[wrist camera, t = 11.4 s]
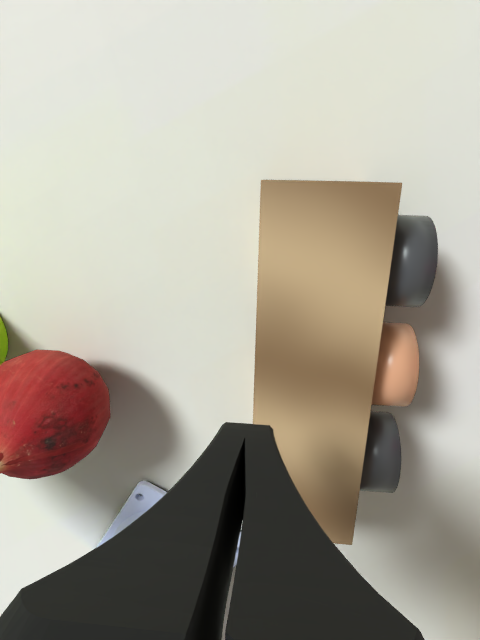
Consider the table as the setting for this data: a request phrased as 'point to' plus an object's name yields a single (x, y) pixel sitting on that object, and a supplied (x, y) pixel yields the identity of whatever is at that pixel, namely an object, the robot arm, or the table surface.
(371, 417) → the knob
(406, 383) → the knob middle
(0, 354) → the soap dispenser
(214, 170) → the table surface
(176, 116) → the table surface
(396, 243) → the knob
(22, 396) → the onion
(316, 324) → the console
